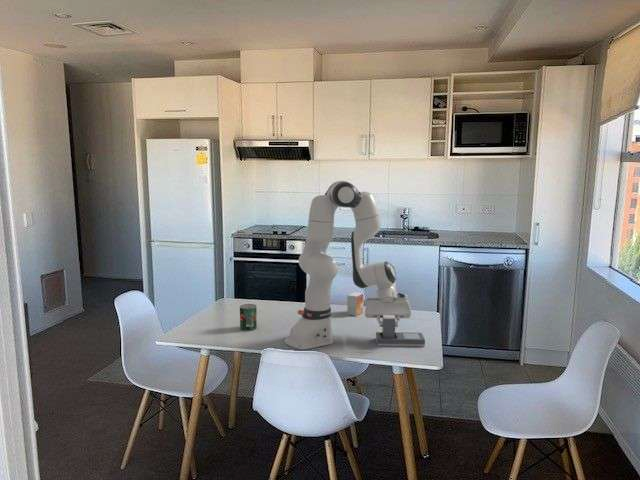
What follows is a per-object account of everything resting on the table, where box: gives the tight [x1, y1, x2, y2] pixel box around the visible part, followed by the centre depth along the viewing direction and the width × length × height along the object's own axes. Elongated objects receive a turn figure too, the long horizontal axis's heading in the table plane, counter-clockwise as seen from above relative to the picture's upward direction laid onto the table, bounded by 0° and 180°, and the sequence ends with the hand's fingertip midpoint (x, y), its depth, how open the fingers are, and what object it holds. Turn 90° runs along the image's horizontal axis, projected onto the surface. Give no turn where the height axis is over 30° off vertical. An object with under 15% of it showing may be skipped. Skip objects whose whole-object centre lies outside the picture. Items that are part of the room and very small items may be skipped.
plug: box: [381, 315, 396, 339], centre depth 212 cm, size 5×5×10 cm
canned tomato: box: [239, 303, 258, 332], centre depth 231 cm, size 8×8×11 cm
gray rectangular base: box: [375, 331, 426, 347], centre depth 212 cm, size 20×9×4 cm, turn 88°
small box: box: [346, 291, 364, 317], centre depth 255 cm, size 8×6×10 cm
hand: (388, 326), depth 211 cm, fingers closed on plug, 5 cm apart
